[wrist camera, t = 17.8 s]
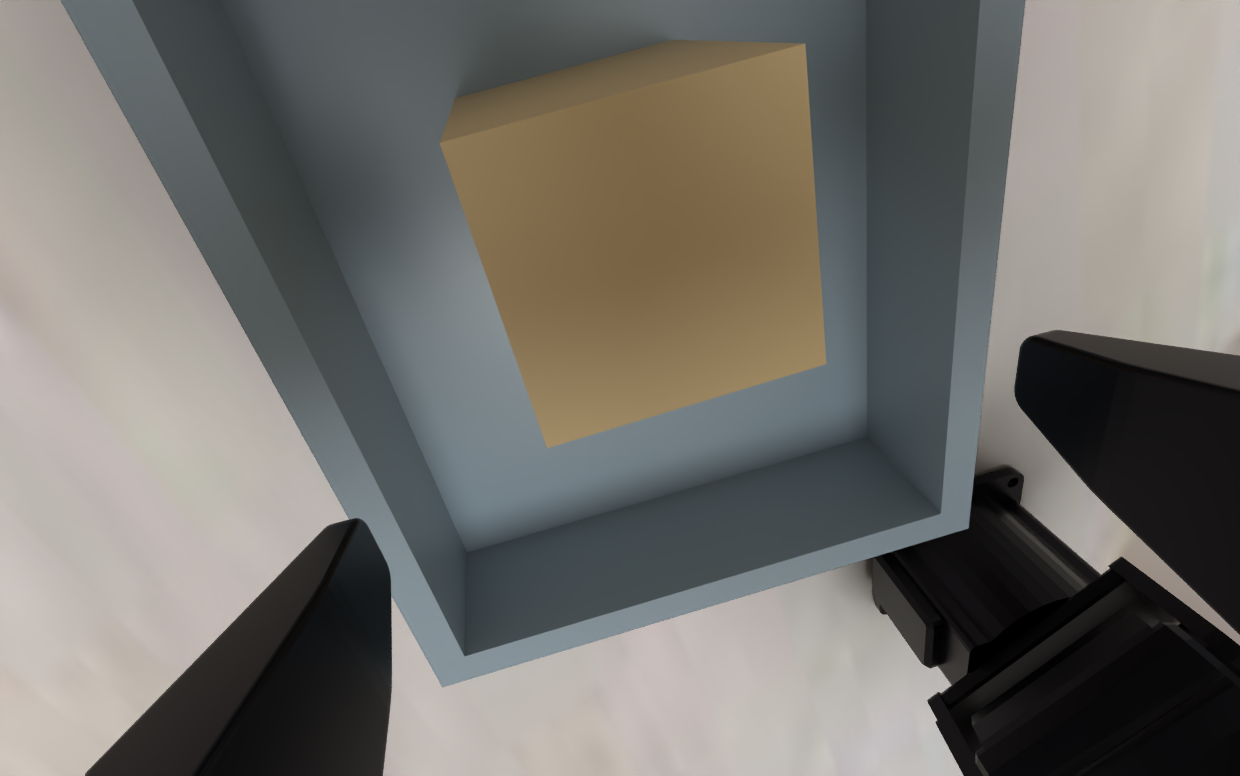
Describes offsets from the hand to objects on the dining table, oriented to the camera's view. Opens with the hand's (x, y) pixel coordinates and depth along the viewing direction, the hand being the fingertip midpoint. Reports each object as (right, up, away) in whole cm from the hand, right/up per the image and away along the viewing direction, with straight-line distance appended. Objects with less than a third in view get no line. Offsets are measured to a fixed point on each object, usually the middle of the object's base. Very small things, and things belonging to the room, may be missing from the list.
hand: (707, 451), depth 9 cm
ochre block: (-2, +5, +5) cm, 8 cm away
